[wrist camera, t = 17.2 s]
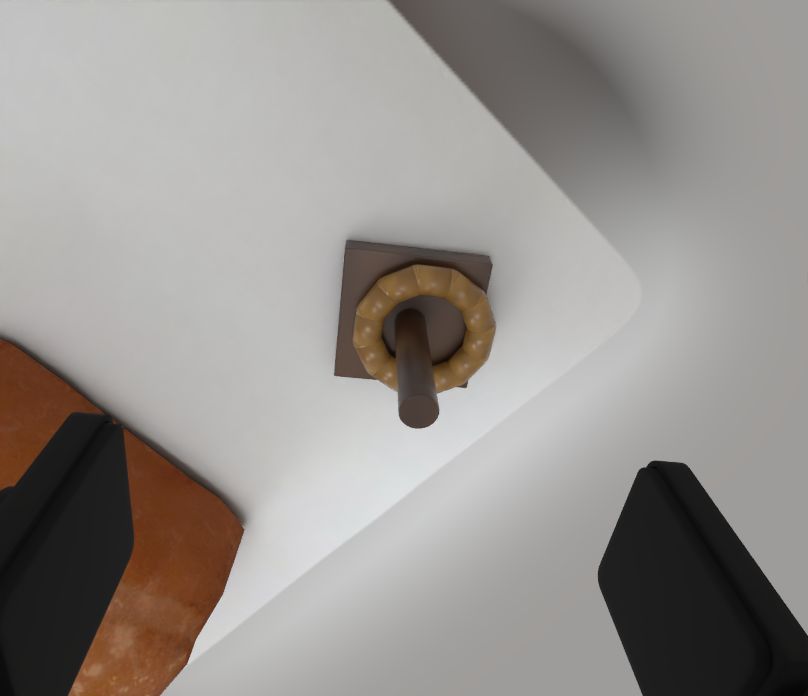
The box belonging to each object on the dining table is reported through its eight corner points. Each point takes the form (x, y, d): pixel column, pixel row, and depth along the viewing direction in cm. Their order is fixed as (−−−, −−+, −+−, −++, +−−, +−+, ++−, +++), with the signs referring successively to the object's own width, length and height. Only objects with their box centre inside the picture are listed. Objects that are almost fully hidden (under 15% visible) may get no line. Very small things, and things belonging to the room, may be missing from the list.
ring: (505, 270, 37) (511, 282, 35) (476, 391, 41) (480, 405, 39) (362, 252, 36) (361, 263, 34) (347, 377, 40) (346, 392, 38)
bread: (-17, 308, 38) (-220, 456, 25) (262, 519, 48) (218, 706, 35) (-152, 449, 43) (-381, 634, 30) (126, 616, 53) (42, 811, 40)
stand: (489, 255, 38) (528, 340, 28) (463, 377, 42) (490, 489, 32) (346, 239, 37) (333, 321, 27) (335, 365, 41) (321, 476, 31)
